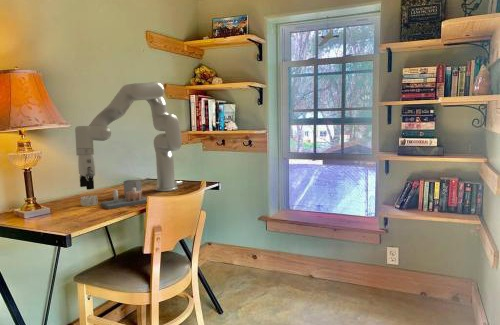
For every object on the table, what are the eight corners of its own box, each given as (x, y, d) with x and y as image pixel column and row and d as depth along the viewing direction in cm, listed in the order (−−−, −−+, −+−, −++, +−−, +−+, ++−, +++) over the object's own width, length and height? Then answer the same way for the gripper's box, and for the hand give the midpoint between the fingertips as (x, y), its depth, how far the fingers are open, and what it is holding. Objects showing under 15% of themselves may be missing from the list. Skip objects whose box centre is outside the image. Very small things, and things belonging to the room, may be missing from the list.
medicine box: (142, 196, 196) (141, 180, 195) (137, 198, 192) (136, 181, 191) (129, 195, 199) (128, 179, 198) (124, 197, 195) (123, 181, 193)
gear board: (140, 198, 191) (139, 185, 190) (150, 202, 183) (149, 187, 182) (100, 205, 178) (99, 190, 177) (108, 209, 170) (107, 194, 169)
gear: (94, 201, 186) (94, 194, 186) (99, 204, 181) (99, 197, 180) (79, 204, 182) (78, 197, 181) (83, 206, 176) (83, 199, 176)
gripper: (99, 152, 174) (101, 189, 176) (87, 150, 187) (89, 184, 189) (82, 153, 169) (84, 191, 171) (71, 151, 182) (73, 186, 184)
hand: (87, 187), depth 180 cm, fingers open, 9 cm apart
